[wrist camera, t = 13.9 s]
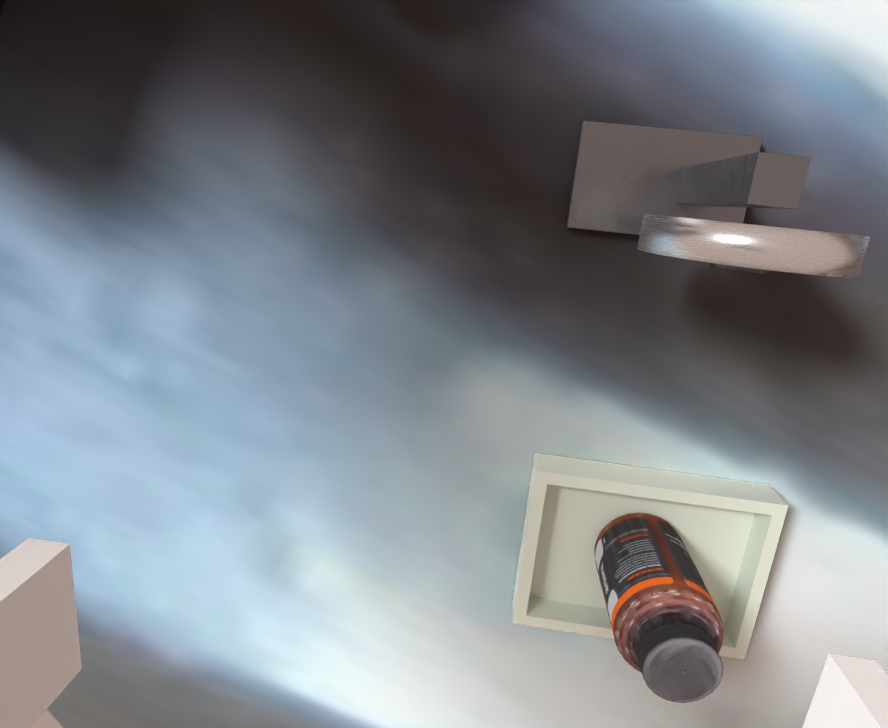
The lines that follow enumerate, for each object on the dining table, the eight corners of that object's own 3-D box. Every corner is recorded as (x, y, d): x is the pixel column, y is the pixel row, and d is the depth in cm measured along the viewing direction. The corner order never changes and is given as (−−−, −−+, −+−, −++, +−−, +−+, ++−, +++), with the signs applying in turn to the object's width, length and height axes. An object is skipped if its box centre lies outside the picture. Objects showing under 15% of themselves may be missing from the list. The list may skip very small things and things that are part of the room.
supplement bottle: (574, 553, 42) (597, 677, 31) (630, 492, 40) (674, 600, 29) (642, 600, 42) (688, 738, 31) (700, 541, 41) (770, 665, 30)
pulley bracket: (563, 239, 37) (595, 262, 23) (581, 123, 35) (627, 71, 21) (754, 260, 36) (906, 296, 22) (782, 141, 34) (967, 100, 21)
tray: (512, 596, 44) (512, 623, 41) (534, 452, 41) (536, 471, 38) (729, 630, 43) (744, 659, 40) (769, 484, 40) (788, 505, 37)
